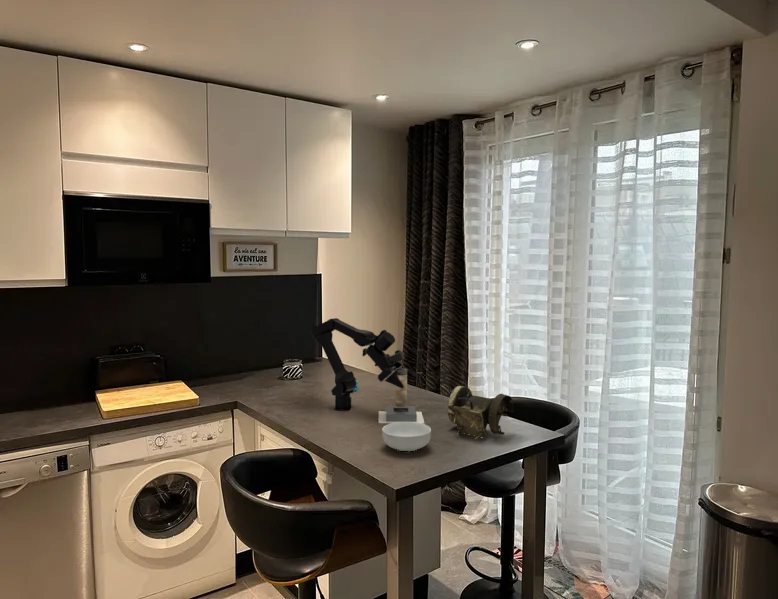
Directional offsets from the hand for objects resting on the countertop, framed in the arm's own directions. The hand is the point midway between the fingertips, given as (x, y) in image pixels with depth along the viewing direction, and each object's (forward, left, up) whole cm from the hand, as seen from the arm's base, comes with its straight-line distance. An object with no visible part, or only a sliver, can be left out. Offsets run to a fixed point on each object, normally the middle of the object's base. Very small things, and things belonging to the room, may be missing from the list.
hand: (404, 386), depth 223 cm
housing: (-1, 0, -13) cm, 13 cm away
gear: (-24, +45, -14) cm, 53 cm away
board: (-1, 0, -13) cm, 13 cm away
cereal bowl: (-1, -34, -14) cm, 36 cm away
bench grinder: (+26, -18, -14) cm, 34 cm away
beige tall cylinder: (-1, 0, -8) cm, 8 cm away
